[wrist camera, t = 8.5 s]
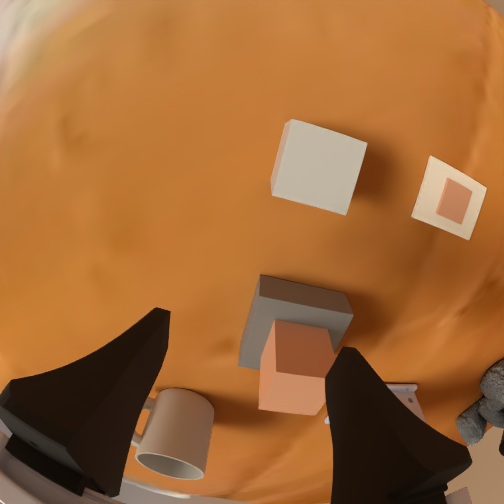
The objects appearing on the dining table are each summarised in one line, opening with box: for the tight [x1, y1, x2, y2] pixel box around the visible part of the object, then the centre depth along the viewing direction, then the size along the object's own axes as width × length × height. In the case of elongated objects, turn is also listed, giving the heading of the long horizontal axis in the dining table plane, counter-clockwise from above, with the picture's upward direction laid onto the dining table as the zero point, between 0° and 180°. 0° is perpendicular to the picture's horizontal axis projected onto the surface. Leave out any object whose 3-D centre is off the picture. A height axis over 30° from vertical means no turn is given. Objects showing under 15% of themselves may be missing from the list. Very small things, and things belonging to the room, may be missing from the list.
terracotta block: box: [259, 319, 336, 415], centre depth 18 cm, size 4×4×5 cm
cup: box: [131, 388, 214, 480], centre depth 24 cm, size 7×10×9 cm
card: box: [411, 156, 487, 240], centre depth 18 cm, size 7×5×1 cm
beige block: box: [271, 119, 367, 215], centre depth 15 cm, size 4×4×5 cm
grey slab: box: [238, 275, 354, 370], centre depth 21 cm, size 7×7×3 cm
